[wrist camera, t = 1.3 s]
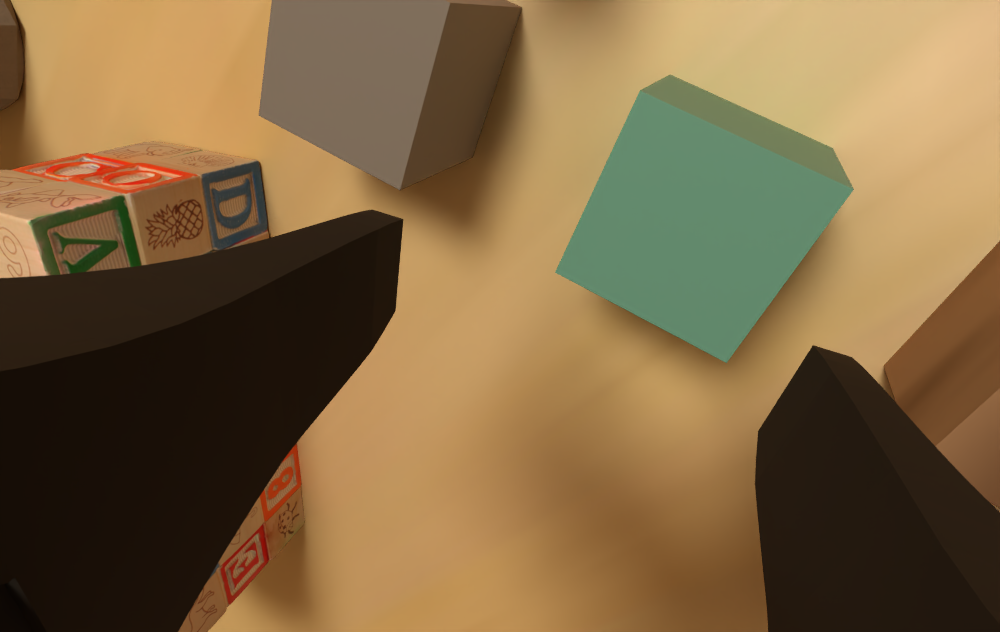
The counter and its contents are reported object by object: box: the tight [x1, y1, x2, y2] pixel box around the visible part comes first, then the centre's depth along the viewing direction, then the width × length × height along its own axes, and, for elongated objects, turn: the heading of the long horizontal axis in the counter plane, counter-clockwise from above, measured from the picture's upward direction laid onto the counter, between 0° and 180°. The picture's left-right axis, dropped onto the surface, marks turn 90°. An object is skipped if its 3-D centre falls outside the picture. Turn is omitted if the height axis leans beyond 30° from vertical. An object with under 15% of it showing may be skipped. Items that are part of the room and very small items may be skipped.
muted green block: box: [555, 75, 854, 363], centre depth 16 cm, size 5×5×5 cm
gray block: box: [259, 0, 522, 190], centre depth 18 cm, size 5×5×5 cm
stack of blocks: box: [0, 141, 305, 632], centre depth 25 cm, size 21×6×12 cm, turn 176°
